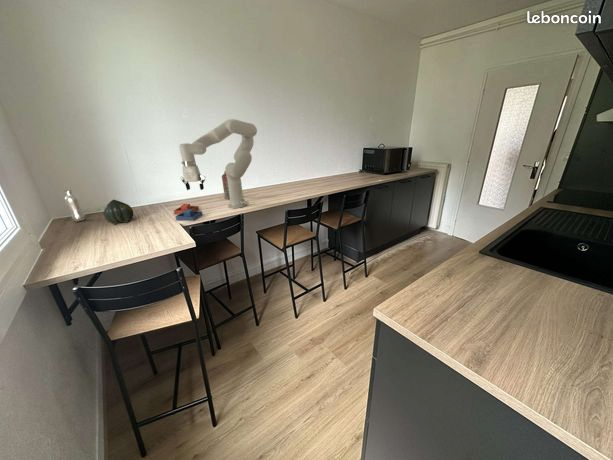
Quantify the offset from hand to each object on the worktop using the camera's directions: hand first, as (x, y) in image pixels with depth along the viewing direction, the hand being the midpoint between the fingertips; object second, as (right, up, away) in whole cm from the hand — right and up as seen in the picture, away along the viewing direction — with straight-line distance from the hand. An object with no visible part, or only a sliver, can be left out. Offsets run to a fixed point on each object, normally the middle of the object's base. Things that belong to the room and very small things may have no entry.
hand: (195, 189), depth 169 cm
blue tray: (-3, -19, -2) cm, 19 cm away
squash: (-44, -22, -8) cm, 50 cm away
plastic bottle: (-73, -22, -5) cm, 76 cm away
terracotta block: (-10, -14, +9) cm, 19 cm away
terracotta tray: (-10, -14, +9) cm, 20 cm away
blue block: (-3, -19, -3) cm, 19 cm away
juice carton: (+11, -1, +41) cm, 42 cm away
